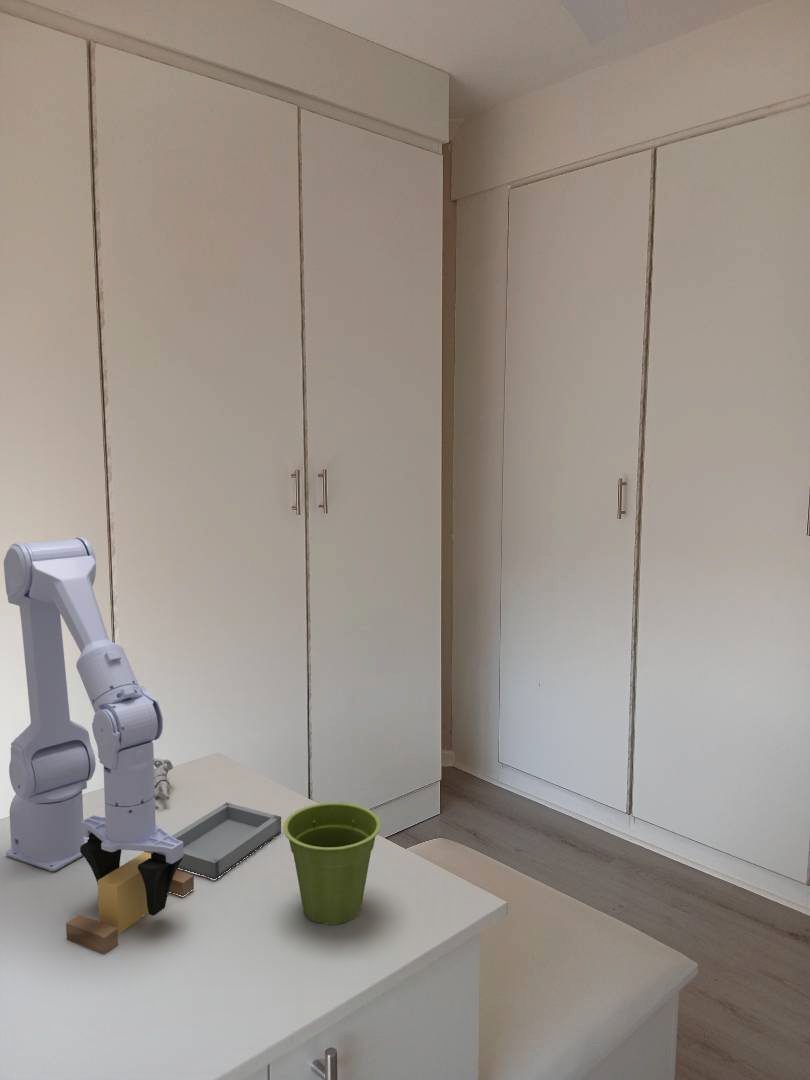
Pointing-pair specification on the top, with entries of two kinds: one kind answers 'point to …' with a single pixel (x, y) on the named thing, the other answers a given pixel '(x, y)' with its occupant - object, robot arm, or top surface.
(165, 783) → the soldier figure
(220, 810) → the tray
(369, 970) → the top surface
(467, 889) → the top surface
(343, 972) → the top surface
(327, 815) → the plant pot
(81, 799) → the robot arm
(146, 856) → the block
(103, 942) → the brown block pair
